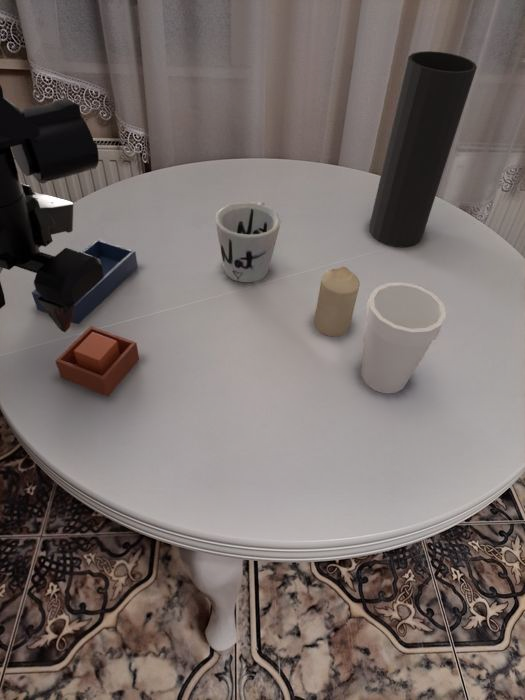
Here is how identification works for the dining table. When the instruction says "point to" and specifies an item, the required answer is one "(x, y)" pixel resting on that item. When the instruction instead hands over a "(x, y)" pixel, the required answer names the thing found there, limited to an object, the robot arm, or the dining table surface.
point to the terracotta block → (97, 353)
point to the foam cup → (398, 333)
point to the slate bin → (115, 271)
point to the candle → (336, 301)
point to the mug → (247, 239)
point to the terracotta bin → (90, 379)
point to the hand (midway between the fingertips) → (33, 317)
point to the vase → (419, 144)
